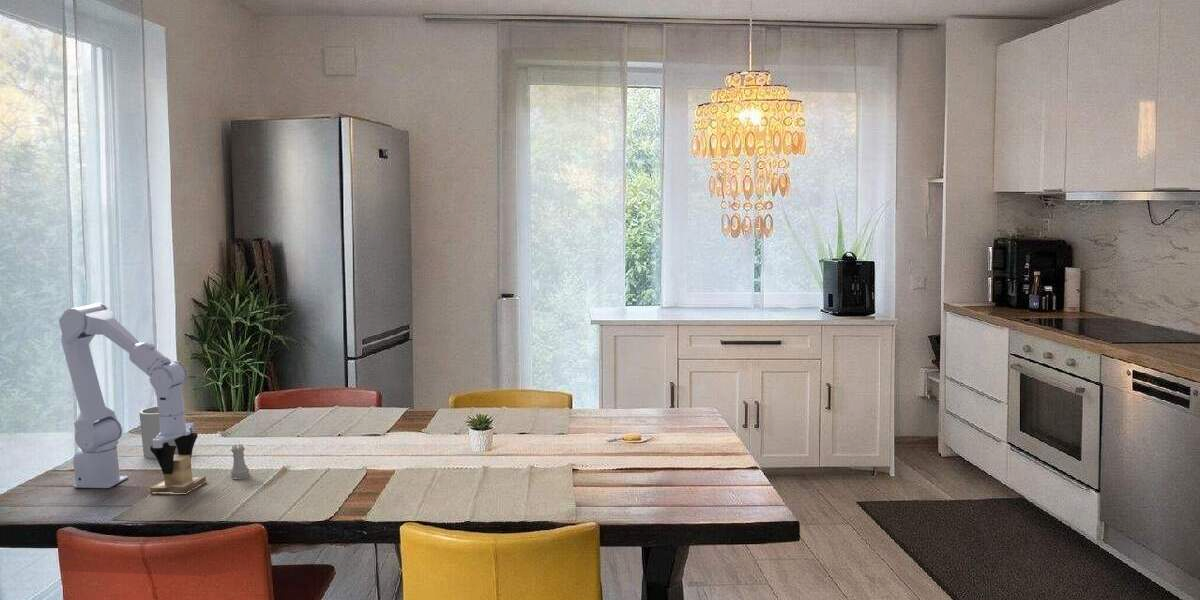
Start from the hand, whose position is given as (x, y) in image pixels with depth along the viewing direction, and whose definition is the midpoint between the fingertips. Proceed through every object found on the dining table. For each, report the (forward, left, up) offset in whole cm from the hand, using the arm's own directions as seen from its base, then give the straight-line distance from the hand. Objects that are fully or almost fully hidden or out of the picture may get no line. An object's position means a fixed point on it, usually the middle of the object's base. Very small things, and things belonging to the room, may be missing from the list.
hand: (176, 468), depth 243 cm
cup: (-21, +27, -5) cm, 35 cm away
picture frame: (0, 0, -5) cm, 5 cm away
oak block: (0, 0, -3) cm, 3 cm away
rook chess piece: (+11, +9, -5) cm, 15 cm away
